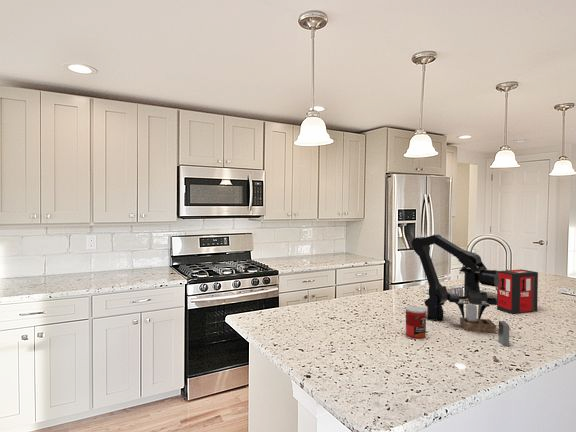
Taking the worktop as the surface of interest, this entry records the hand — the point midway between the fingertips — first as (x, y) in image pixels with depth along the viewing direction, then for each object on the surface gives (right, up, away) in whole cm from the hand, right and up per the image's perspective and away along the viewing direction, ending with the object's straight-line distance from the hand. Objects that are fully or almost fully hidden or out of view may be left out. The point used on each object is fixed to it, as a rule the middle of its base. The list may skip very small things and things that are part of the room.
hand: (471, 318), depth 157 cm
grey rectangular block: (+3, -4, -18) cm, 19 cm away
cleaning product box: (+37, -4, +27) cm, 46 cm away
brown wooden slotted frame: (+2, -4, -1) cm, 5 cm away
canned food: (-28, -4, -10) cm, 30 cm away
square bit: (0, -4, 0) cm, 4 cm away
